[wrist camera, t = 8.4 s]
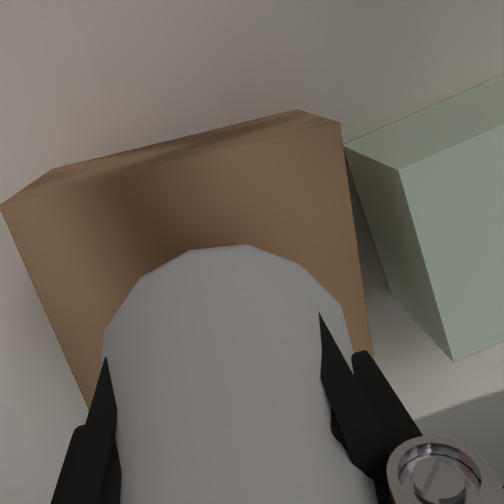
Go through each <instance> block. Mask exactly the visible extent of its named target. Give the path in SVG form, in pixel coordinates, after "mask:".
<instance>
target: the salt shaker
mask: <svg viewBox="0 0 504 504" xmlns="http://www.w3.org/2000/svg"><path fill="white" fill-rule="evenodd" d="M318 311H319V313H320V315H321V316H322V318H323V320H324V322H325V324H326V326H327V327H328V329H329V331H330V333H331V335H332V336H333V338H334V340H335V342H336V344H337V345H338V347H339V349H340V351H341V353H342V355H343V356H344V358H345V360H346V362H347V364H348V365H349V367H350V369H351V371H352V373H353V368H352V362H351V355H353V354H354V352H353V348H352V344H351V341H350V337H349V333H348V329H347V325H346V322H345V318H344V314H343V310H342V307H341V305H340V304H339V303H338V302H337V301H336V300H335V299H334V298H333V297H332V296H331V295H330V294H329V293H328V292H327V291H326V290H325V289H324V288H323V287H322V286H321V285H320V284H319V283H318V282H317V281H316V280H315V279H314V278H313V277H312V276H311V275H310V274H309V273H308V272H307V271H306V270H305V269H304V268H303V267H302V266H300V265H299V264H298V263H296V262H294V261H291V260H288V259H286V258H283V257H280V256H277V255H275V254H272V253H269V252H267V251H264V250H261V249H259V248H256V247H253V246H251V245H248V244H243V245H234V246H224V247H215V248H205V249H196V250H189V251H187V252H185V253H183V254H181V255H180V256H178V257H176V258H174V259H172V260H171V261H169V262H167V263H165V264H163V265H162V266H160V267H158V268H156V269H155V270H153V271H151V272H149V273H147V274H146V275H144V276H142V277H140V279H139V280H138V281H137V283H136V284H135V286H134V287H133V289H132V290H131V292H130V293H129V295H128V296H127V298H126V299H125V301H124V302H123V304H122V305H121V307H120V308H119V310H118V311H117V313H116V314H115V316H114V317H113V319H112V320H111V322H110V323H109V325H108V327H107V328H106V330H105V331H104V338H103V351H102V364H101V368H102V365H103V361H104V358H105V356H106V358H107V362H108V366H109V371H110V376H111V381H112V386H113V390H114V395H115V400H116V405H117V421H116V432H115V438H116V443H117V449H118V454H119V460H120V465H121V470H122V476H121V494H120V504H378V501H377V496H376V490H375V485H374V480H372V479H370V478H369V477H368V476H366V475H365V474H364V473H363V472H362V471H360V470H359V469H358V468H357V467H356V466H354V465H353V464H352V463H351V460H350V457H349V455H348V452H347V451H346V450H345V448H344V447H343V446H342V444H341V443H340V442H339V441H337V440H336V438H335V437H334V436H333V434H332V432H331V428H330V425H331V405H330V402H329V400H328V397H327V395H326V392H325V390H324V387H323V384H322V382H321V379H320V371H321V356H322V346H321V335H320V324H319V313H318ZM353 374H354V373H353Z"/></svg>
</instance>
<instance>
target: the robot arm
mask: <svg viewBox="0 0 504 504" xmlns="http://www.w3.org/2000/svg"><path fill="white" fill-rule="evenodd" d="M318 313H319V311H318ZM319 324H320V335H321V346H322V356H321V371H320V379H321V382H322V384H323V387H324V390H325V392H326V395H327V397H328V400H329V402H330V405H331V425H330V428H331V432H332V434H333V436H334V437H335V438H336V440H337V441H339V442H340V443H341V444H342V446H343V447H344V448H345V450H346V451H347V452H348V455H349V457H350V460H351V463H352V464H353V465H354V466H356V467H357V468H358V469H359V470H360V471H362V472H363V473H364V474H365V475H366V476H368V477H369V478H370V479H372V480H374V485H375V490H376V496H377V501H378V504H504V486H502V485H501V484H500V482H499V481H498V479H497V478H496V476H495V474H494V473H493V471H492V470H491V468H490V466H489V465H488V464H487V463H486V461H485V460H484V459H483V458H482V456H481V455H480V454H479V453H478V452H477V451H475V450H474V449H472V448H471V447H469V446H468V445H466V444H465V443H462V442H460V441H457V440H455V439H452V438H449V437H442V436H436V435H432V436H423V435H422V433H421V432H420V431H419V429H418V428H417V426H416V424H415V423H414V421H413V420H412V418H411V417H410V415H409V413H408V412H407V410H406V409H405V407H404V406H403V404H402V403H401V401H400V400H399V398H398V397H397V395H396V393H395V392H394V390H393V389H392V387H391V386H390V384H389V383H388V381H387V380H386V378H385V377H384V375H383V373H382V372H381V370H380V369H379V367H378V366H377V364H376V363H375V361H374V360H373V358H372V357H371V355H370V354H369V353H368V351H366V350H363V351H359V352H355V353H354V354H353V355H351V362H352V368H353V373H354V374H353V373H352V371H351V369H350V367H349V365H348V364H347V362H346V360H345V358H344V356H343V355H342V353H341V351H340V349H339V347H338V345H337V344H336V342H335V340H334V338H333V336H332V335H331V333H330V331H329V329H328V327H327V326H326V324H325V322H324V320H323V318H322V316H321V315H320V313H319ZM116 421H117V405H116V400H115V395H114V390H113V386H112V381H111V376H110V371H109V366H108V362H107V358H106V356H105V358H104V361H103V365H102V368H101V372H100V375H99V379H98V382H97V386H96V389H95V392H94V396H93V399H92V403H91V406H90V410H89V413H88V417H87V420H86V423H85V425H81V426H78V427H77V428H76V429H75V431H74V433H73V435H72V438H71V441H70V444H69V447H68V450H67V454H66V457H65V460H64V463H63V466H62V469H61V473H60V476H59V479H58V482H57V485H56V488H55V491H54V495H53V498H52V501H51V504H120V494H121V476H122V470H121V465H120V460H119V454H118V449H117V443H116V438H115V432H116Z"/></svg>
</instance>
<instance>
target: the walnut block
mask: <svg viewBox="0 0 504 504" xmlns="http://www.w3.org/2000/svg"><path fill="white" fill-rule="evenodd" d="M0 210H1V212H2V214H3V217H4V219H5V221H6V224H7V226H8V228H9V230H10V233H11V235H12V237H13V239H14V242H15V244H16V246H17V248H18V251H19V253H20V255H21V257H22V260H23V262H24V264H25V266H26V269H27V271H28V273H29V275H30V278H31V280H32V282H33V285H34V287H35V289H36V291H37V294H38V296H39V298H40V300H41V303H42V305H43V307H44V309H45V312H46V314H47V316H48V318H49V321H50V323H51V325H52V327H53V330H54V332H55V334H56V336H57V339H58V341H59V343H60V345H61V348H62V350H63V352H64V355H65V357H66V359H67V361H68V364H69V366H70V368H71V370H72V373H73V375H74V377H75V379H76V382H77V384H78V386H79V388H80V391H81V393H82V395H83V397H84V400H85V402H86V404H87V406H88V409H89V410H90V406H91V403H92V399H93V396H94V392H95V389H96V386H97V382H98V379H99V375H100V372H101V364H102V351H103V338H104V331H105V330H106V328H107V327H108V325H109V323H110V322H111V320H112V319H113V317H114V316H115V314H116V313H117V311H118V310H119V308H120V307H121V305H122V304H123V302H124V301H125V299H126V298H127V296H128V295H129V293H130V292H131V290H132V289H133V287H134V286H135V284H136V283H137V281H138V280H139V279H140V277H142V276H144V275H146V274H147V273H149V272H151V271H153V270H155V269H156V268H158V267H160V266H162V265H163V264H165V263H167V262H169V261H171V260H172V259H174V258H176V257H178V256H180V255H181V254H183V253H185V252H187V251H189V250H196V249H205V248H215V247H224V246H234V245H243V244H248V245H251V246H253V247H256V248H259V249H261V250H264V251H267V252H269V253H272V254H275V255H277V256H280V257H283V258H286V259H288V260H291V261H294V262H296V263H298V264H299V265H300V266H302V267H303V268H304V269H305V270H306V271H307V272H308V273H309V274H310V275H311V276H312V277H313V278H314V279H315V280H316V281H317V282H318V283H319V284H320V285H321V286H322V287H323V288H324V289H325V290H326V291H327V292H328V293H329V294H330V295H331V296H332V297H333V298H334V299H335V300H336V301H337V302H338V303H339V304H340V305H341V307H342V310H343V314H344V318H345V322H346V325H347V329H348V333H349V337H350V341H351V344H352V348H353V352H354V353H355V352H359V351H363V350H366V351H368V353H369V354H370V355H371V357H372V358H373V351H372V344H371V337H370V330H369V323H368V316H367V309H366V302H365V296H364V289H363V282H362V275H361V268H360V261H359V254H358V247H357V240H356V233H355V226H354V219H353V213H352V206H351V199H350V192H349V185H348V178H347V171H346V164H345V157H344V150H343V143H342V136H341V130H340V123H339V122H337V121H334V120H331V119H327V118H324V117H320V116H317V115H314V114H310V113H307V112H304V111H300V110H294V111H289V112H285V113H281V114H277V115H273V116H269V117H265V118H261V119H257V120H252V121H248V122H244V123H240V124H236V125H232V126H228V127H224V128H220V129H216V130H211V131H207V132H203V133H199V134H195V135H191V136H187V137H183V138H179V139H175V140H170V141H166V142H162V143H158V144H154V145H150V146H146V147H142V148H138V149H133V150H129V151H125V152H121V153H117V154H113V155H109V156H105V157H101V158H97V159H92V160H88V161H84V162H80V163H76V164H72V165H68V166H64V167H60V168H55V169H51V170H50V171H49V172H47V173H46V174H44V175H43V176H41V177H40V178H38V179H37V180H36V181H34V182H33V183H31V184H30V185H28V186H27V187H25V188H24V189H22V190H21V191H20V192H18V193H17V194H15V195H14V196H12V197H11V198H9V199H8V200H7V201H5V202H4V203H2V204H1V205H0ZM373 360H374V358H373Z"/></svg>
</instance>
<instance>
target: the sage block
mask: <svg viewBox="0 0 504 504" xmlns="http://www.w3.org/2000/svg"><path fill="white" fill-rule="evenodd" d="M343 150H344V153H345V156H346V159H347V162H348V165H349V168H350V171H351V174H352V177H353V180H354V183H355V186H356V189H357V192H358V195H359V198H360V201H361V204H362V207H363V210H364V213H365V216H366V219H367V222H368V225H369V228H370V231H371V234H372V237H373V240H374V243H375V246H376V250H377V253H378V256H379V259H380V262H381V265H382V268H383V271H384V274H385V277H386V280H387V283H388V286H389V289H390V292H391V295H392V297H393V298H394V299H395V300H396V301H397V302H398V303H399V305H400V306H401V307H402V308H403V309H404V310H405V311H406V312H407V313H408V314H409V315H410V316H411V317H412V318H413V319H414V321H415V322H416V323H417V324H418V325H419V326H420V327H421V328H422V329H423V330H424V331H425V332H426V333H427V334H428V335H429V337H430V338H431V339H432V340H433V341H434V342H435V343H436V344H437V345H438V346H439V347H440V348H441V349H442V350H443V351H444V353H445V354H446V355H447V356H448V357H449V358H450V359H451V360H452V361H453V362H456V361H458V360H461V359H463V358H465V357H468V356H470V355H472V354H475V353H477V352H479V351H482V350H484V349H486V348H489V347H491V346H493V345H496V344H498V343H500V342H503V341H504V74H503V75H501V76H498V77H496V78H494V79H492V80H489V81H487V82H485V83H483V84H480V85H478V86H476V87H474V88H471V89H469V90H467V91H464V92H462V93H460V94H458V95H455V96H453V97H451V98H449V99H446V100H444V101H442V102H440V103H437V104H435V105H433V106H430V107H428V108H426V109H424V110H421V111H419V112H417V113H415V114H412V115H410V116H408V117H406V118H403V119H401V120H399V121H397V122H394V123H392V124H390V125H387V126H385V127H383V128H381V129H378V130H376V131H374V132H372V133H369V134H367V135H365V136H363V137H360V138H358V139H356V140H353V141H351V142H349V143H347V144H344V145H343Z"/></svg>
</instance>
